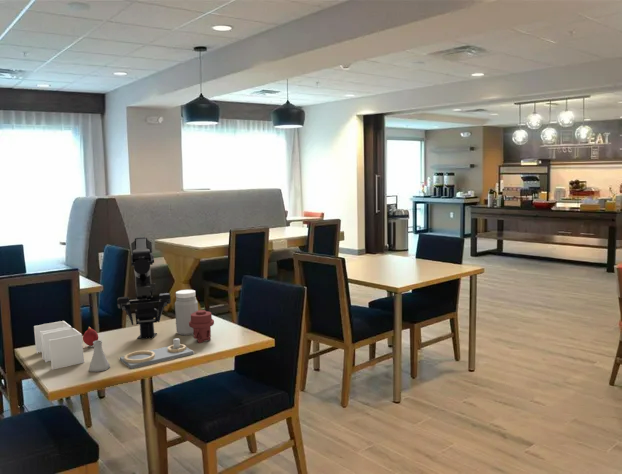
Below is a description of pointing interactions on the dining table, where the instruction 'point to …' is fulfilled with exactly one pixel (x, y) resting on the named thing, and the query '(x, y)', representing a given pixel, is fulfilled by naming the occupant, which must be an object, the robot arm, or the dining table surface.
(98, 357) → the flask
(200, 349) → the dining table surface
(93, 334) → the onion
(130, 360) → the board
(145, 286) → the robot arm
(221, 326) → the dining table surface
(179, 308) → the jar
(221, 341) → the dining table surface
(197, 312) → the mechanical component
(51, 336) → the storage container
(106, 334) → the dining table surface
